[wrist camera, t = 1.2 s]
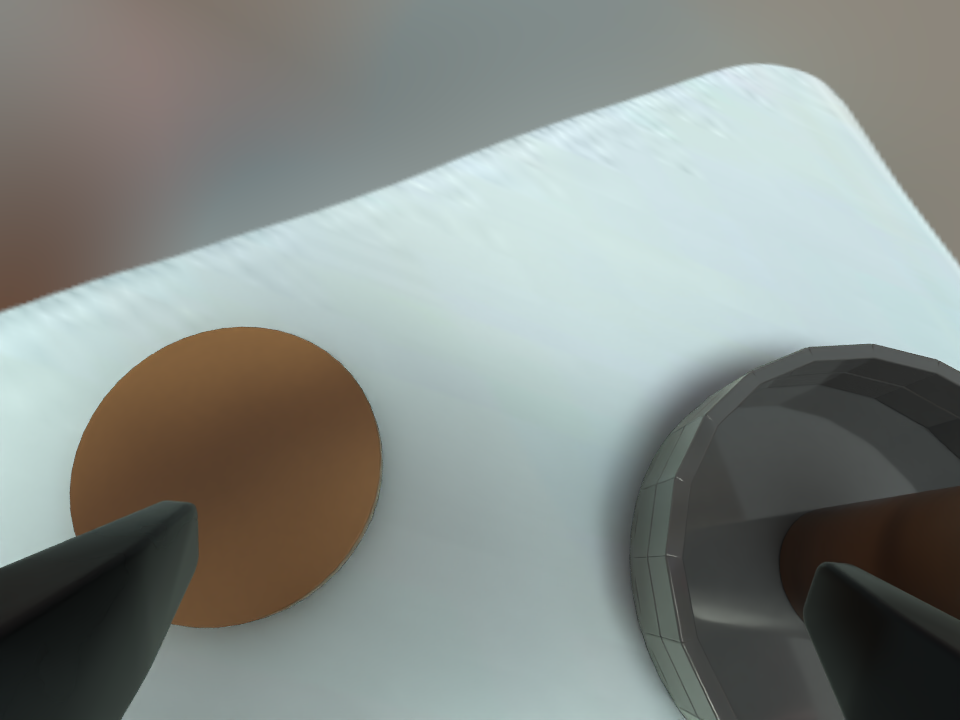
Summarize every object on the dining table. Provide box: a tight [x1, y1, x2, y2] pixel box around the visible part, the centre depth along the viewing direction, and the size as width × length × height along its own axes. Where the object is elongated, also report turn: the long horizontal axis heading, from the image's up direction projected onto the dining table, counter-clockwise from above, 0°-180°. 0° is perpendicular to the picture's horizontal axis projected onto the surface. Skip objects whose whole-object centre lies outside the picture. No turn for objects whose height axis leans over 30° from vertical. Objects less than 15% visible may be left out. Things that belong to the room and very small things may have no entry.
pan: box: [630, 344, 960, 720], centre depth 21 cm, size 16×16×4 cm
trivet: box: [70, 327, 383, 628], centre depth 22 cm, size 11×11×1 cm
